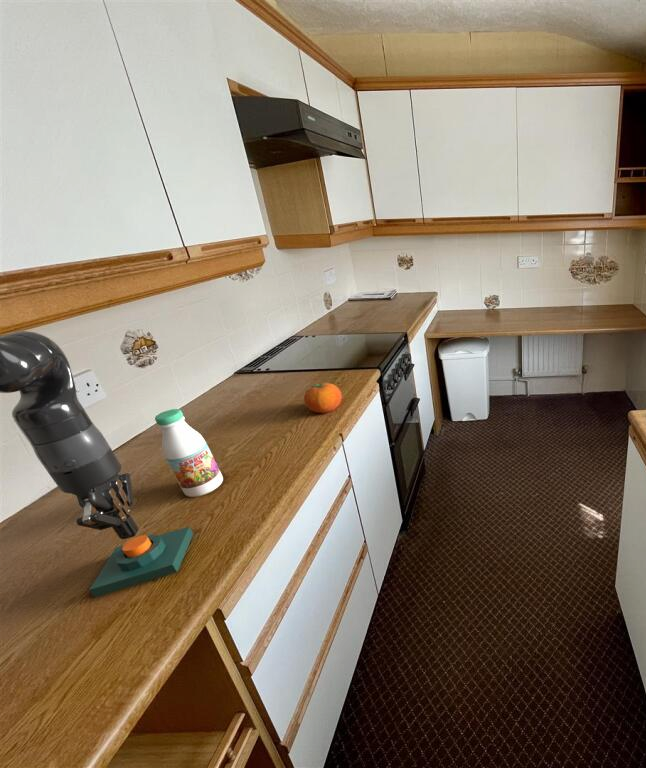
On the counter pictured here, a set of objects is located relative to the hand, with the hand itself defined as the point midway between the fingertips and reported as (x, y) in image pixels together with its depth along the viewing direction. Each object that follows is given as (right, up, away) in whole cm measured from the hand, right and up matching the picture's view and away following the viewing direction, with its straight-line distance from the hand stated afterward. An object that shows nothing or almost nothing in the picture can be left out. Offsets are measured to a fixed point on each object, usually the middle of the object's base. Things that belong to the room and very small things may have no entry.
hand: (130, 535), depth 72 cm
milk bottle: (-4, +3, +23) cm, 24 cm away
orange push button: (0, -3, +2) cm, 4 cm away
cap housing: (0, -7, +3) cm, 7 cm away
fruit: (+10, +19, +54) cm, 58 cm away
